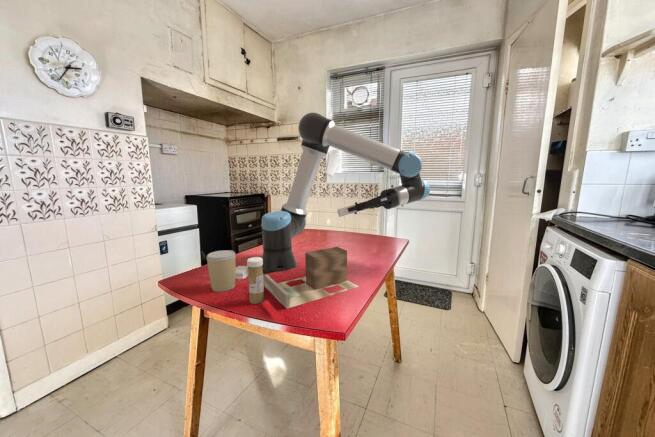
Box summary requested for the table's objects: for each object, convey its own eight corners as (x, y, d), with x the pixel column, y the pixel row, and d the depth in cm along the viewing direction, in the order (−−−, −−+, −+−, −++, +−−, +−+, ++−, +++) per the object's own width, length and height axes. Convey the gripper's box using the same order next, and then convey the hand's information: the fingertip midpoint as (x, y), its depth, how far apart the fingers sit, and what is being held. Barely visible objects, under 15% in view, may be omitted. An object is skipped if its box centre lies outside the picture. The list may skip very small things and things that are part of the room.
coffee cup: (243, 283, 93) (241, 251, 91) (224, 294, 84) (222, 258, 82) (222, 280, 96) (220, 249, 94) (202, 290, 87) (199, 256, 85)
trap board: (329, 274, 100) (329, 260, 99) (359, 290, 85) (359, 274, 84) (264, 290, 86) (263, 275, 85) (286, 313, 71) (286, 295, 71)
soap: (237, 271, 106) (236, 264, 106) (253, 271, 105) (252, 264, 105) (226, 279, 97) (226, 272, 97) (244, 280, 97) (243, 272, 96)
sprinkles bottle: (246, 301, 79) (243, 259, 77) (259, 296, 82) (256, 255, 80) (255, 306, 76) (252, 262, 74) (267, 300, 79) (265, 258, 77)
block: (337, 275, 95) (336, 246, 93) (347, 280, 90) (347, 250, 88) (306, 283, 88) (305, 252, 86) (314, 290, 83) (314, 257, 81)
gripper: (406, 203, 93) (349, 220, 85) (387, 209, 105) (335, 225, 97) (400, 183, 93) (342, 199, 85) (381, 192, 105) (329, 206, 97)
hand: (338, 213), depth 91 cm, fingers closed
